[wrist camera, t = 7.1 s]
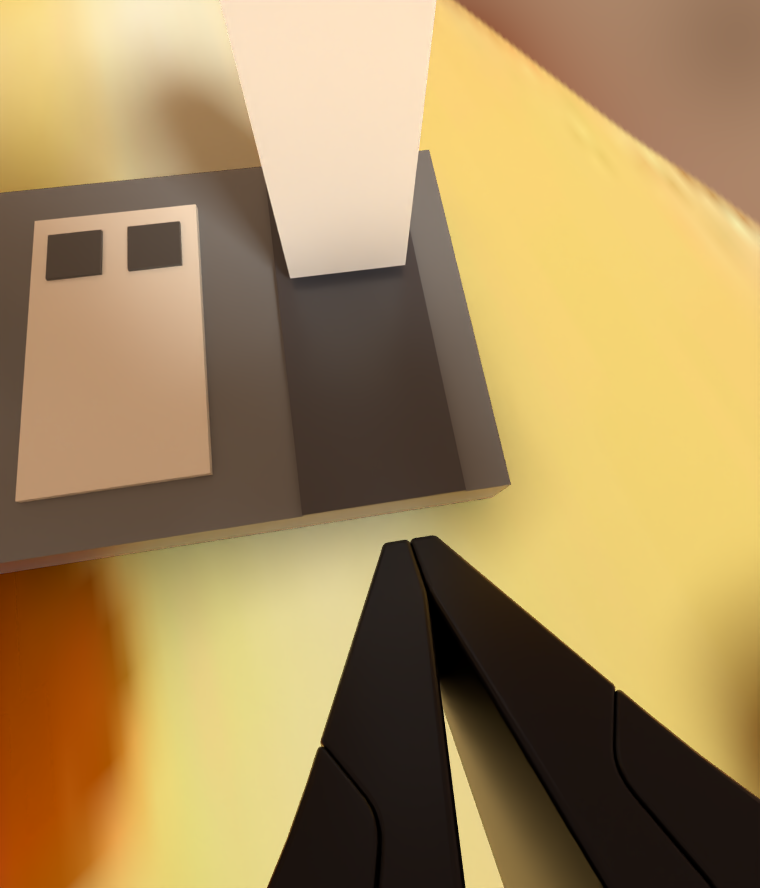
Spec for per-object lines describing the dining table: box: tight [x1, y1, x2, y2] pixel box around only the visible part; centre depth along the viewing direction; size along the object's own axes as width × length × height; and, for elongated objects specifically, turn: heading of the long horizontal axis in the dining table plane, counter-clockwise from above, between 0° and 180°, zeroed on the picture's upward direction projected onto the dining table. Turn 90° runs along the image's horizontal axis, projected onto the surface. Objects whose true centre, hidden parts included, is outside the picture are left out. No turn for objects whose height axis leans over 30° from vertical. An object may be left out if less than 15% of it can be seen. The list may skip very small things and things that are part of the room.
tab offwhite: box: [219, 0, 436, 278], centre depth 10 cm, size 3×4×8 cm
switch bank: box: [0, 150, 511, 574], centre depth 14 cm, size 12×21×2 cm, turn 99°
